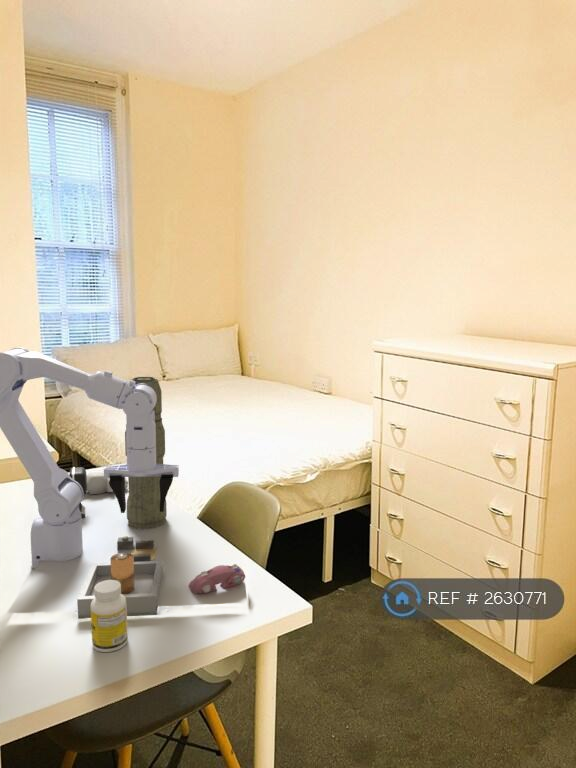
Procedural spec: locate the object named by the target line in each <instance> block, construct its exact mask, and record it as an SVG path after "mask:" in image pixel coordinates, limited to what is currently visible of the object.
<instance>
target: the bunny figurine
mask: <svg viewBox="0 0 576 768" xmlns="http://www.w3.org/2000/svg"><path fill="white" fill-rule="evenodd" d="M86 475H87V492H88V493H89V494H90V495H102V494H104V493H114V492H113V490H112V488H111V487H110V485H109V481H110V478H105V479H104V472H101V471H90V472H89V473H88V474H86ZM127 479H128V478H127V477H125V489H126V488H129V484H128V480H127Z"/></svg>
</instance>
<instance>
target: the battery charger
mask: <svg viewBox="0 0 576 768" xmlns="http://www.w3.org/2000/svg"><path fill="white" fill-rule="evenodd" d="M68 474H69V476H70V477H71V478H72V479H73V480H75V481H76V482H78V483H79V484H80V485H81V487H82V489H83V492H84V495H86V493H87V492H88V491H87V475H88V474H87V470H86V468H85V467H83V466H82V467H81V466H79V467H75V466H73V467H70V469H69V473H68ZM79 510H80V512H81V519H83V518H85V516H86V507H85V506H84V505H83V504H82V502H81V503H80V504H79Z"/></svg>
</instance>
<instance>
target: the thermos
mask: <svg viewBox="0 0 576 768" xmlns="http://www.w3.org/2000/svg"><path fill="white" fill-rule="evenodd" d="M131 380H133V381H135V382H136V383H135V385H137V384H141V383H144V384H146V385H148V386H150V387H151V388H152V389H153V390H154V391H155V393H156V396H157V402H156V405H155V407H154V408H153V410H154V414H155V424H156V464H164V457H165V455H166V430H165V427H164V424H163V418H162V413H163V409H162V408H163V407H162V406H163V403H162V398H163V397H162V388H161V385H160V382H159V380H158V379H156V377H153V376H138V377H133V378H132V379H130V380H129V382H130V381H131ZM124 444H125V445H124V446H125V447H124V449H125V456H126V457H127V449H126V430H125V432H124ZM160 478H161V476H147V477H127V479H128V480H127V481H128V496H127V500H126V519H127V523H128V525H129V527H131V528H134V529H139V530H141V529H142V530H145V529H146V530H149V529H150V530H151V529H154V528H158V527H161V526H162V525H164V524H165V522H166V519H167V514H168V513H167V512H168V511H167V498H166V499H165V503H164V511H163V512H160V482H159V481H160Z"/></svg>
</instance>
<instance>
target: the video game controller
mask: <svg viewBox="0 0 576 768" xmlns="http://www.w3.org/2000/svg"><path fill="white" fill-rule="evenodd" d="M245 578H246V574H245V572H244V570H243V569H242V568H241V567H240V566H239V565H238V564H233V565H224V564H222V565H221V564H220V565H217V566H213V567H212V568H210V569H208V570H205V571H204V570H203V571H202V572H200V573H199V574H197V575H196V576H195V577H194V578H193V579H192V580H191V581H190V582H189V584H188V588H189V591H191V592H192V593H194V594H196V595H197V594H200V595H201V594H202V595H203V594H206V593H210V592H213V591H214V592H215V591H218V590H217V589H218V588H217V585H219V584H220V585H219V586H220V587H221V588H222V589H227V588H231V587H235V586H238V585H240V584H242V583H243V582H244V581H245Z"/></svg>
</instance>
